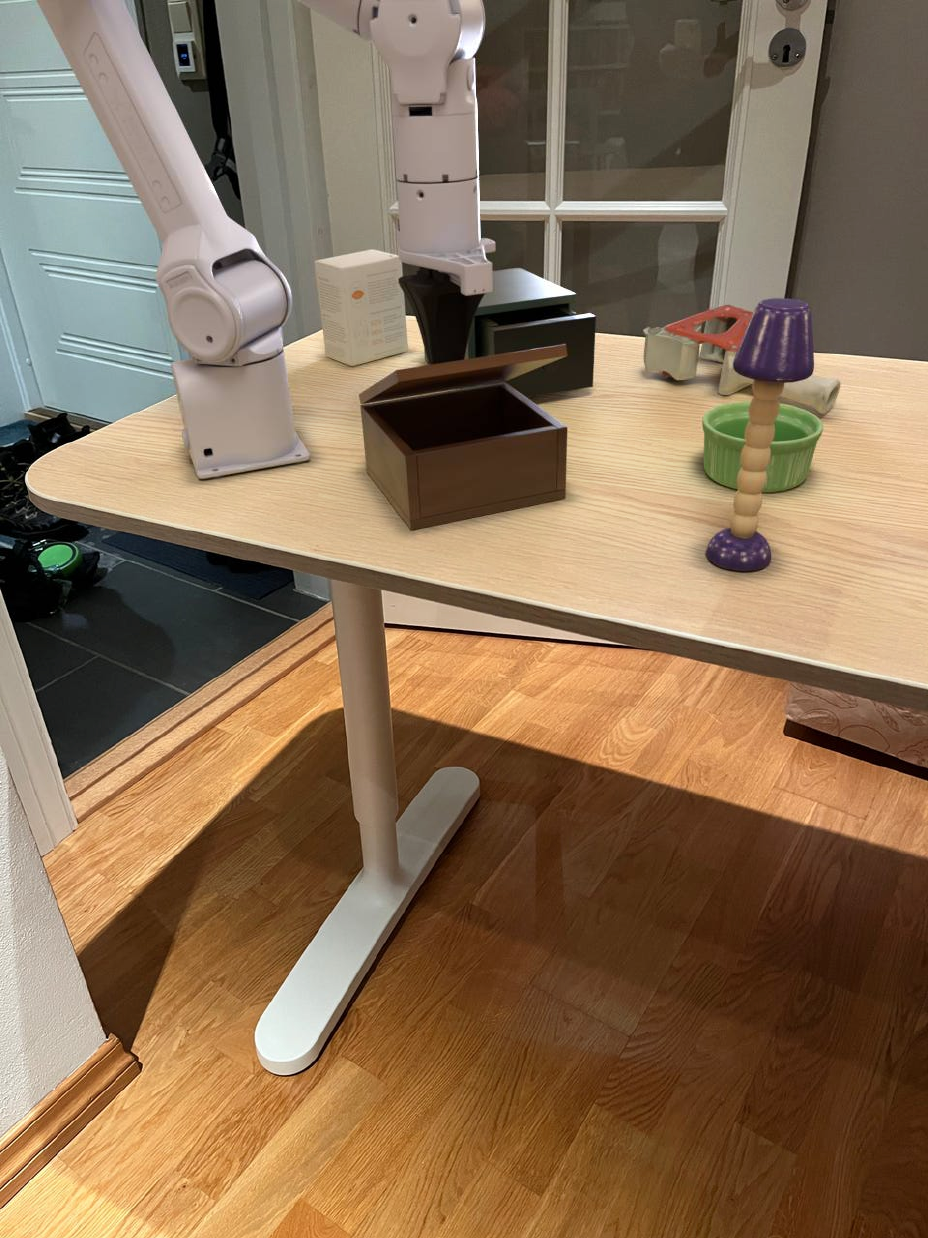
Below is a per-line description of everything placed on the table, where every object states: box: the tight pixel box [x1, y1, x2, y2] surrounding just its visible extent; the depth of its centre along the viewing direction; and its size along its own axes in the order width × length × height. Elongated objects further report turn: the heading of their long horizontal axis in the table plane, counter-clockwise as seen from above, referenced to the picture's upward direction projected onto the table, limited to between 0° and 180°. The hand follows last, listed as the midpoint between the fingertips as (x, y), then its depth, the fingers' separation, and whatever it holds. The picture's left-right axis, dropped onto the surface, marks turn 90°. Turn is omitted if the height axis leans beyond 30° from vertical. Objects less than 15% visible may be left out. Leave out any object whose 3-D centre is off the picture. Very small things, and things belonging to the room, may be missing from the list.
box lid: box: [358, 344, 567, 405], centre depth 68 cm, size 12×13×1 cm
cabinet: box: [423, 267, 577, 389], centre depth 95 cm, size 14×12×9 cm
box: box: [359, 382, 568, 531], centre depth 71 cm, size 12×13×6 cm
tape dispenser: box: [642, 304, 842, 415], centre depth 89 cm, size 18×5×20 cm
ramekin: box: [701, 400, 824, 493], centre depth 71 cm, size 9×9×4 cm
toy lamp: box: [705, 297, 815, 572], centre depth 57 cm, size 5×5×17 cm
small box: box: [314, 248, 409, 367], centre depth 100 cm, size 8×6×10 cm
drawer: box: [474, 305, 597, 399], centre depth 90 cm, size 14×10×7 cm
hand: (446, 371), depth 70 cm, fingers closed
